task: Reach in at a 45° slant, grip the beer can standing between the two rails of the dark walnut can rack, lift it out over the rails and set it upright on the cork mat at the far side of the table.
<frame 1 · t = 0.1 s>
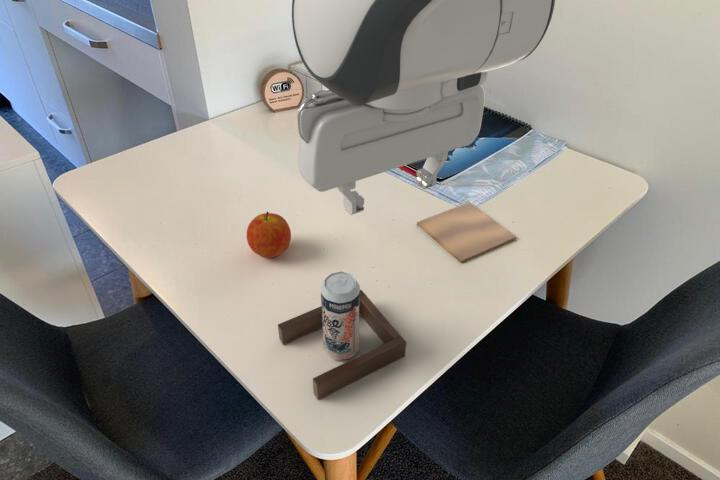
hand: (390, 197, 57), 23 cm above the table, tool pointing down, fingers open, 8 cm apart
fruit: (271, 253, 85), on the table
can rack: (341, 347, 70), on the table
cork mat: (465, 231, 90), on the table
beer can: (341, 348, 70), resting in can rack
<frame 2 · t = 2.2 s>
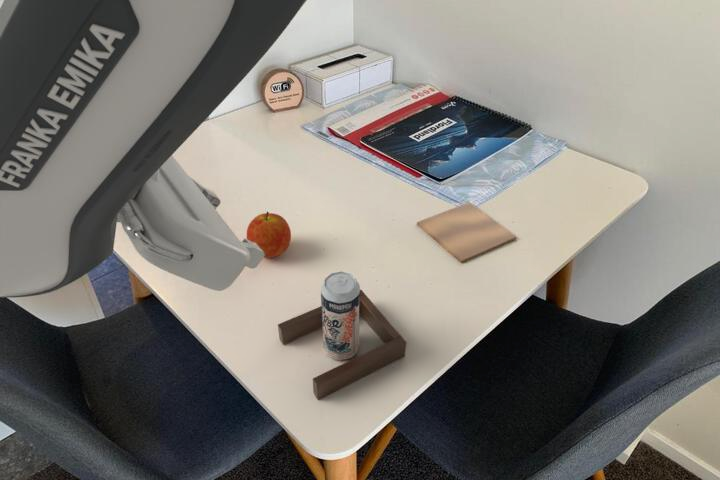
hand: (234, 229, 49), 25 cm above the table, tool tilted 45°, fingers open, 8 cm apart
nothing on the table moved.
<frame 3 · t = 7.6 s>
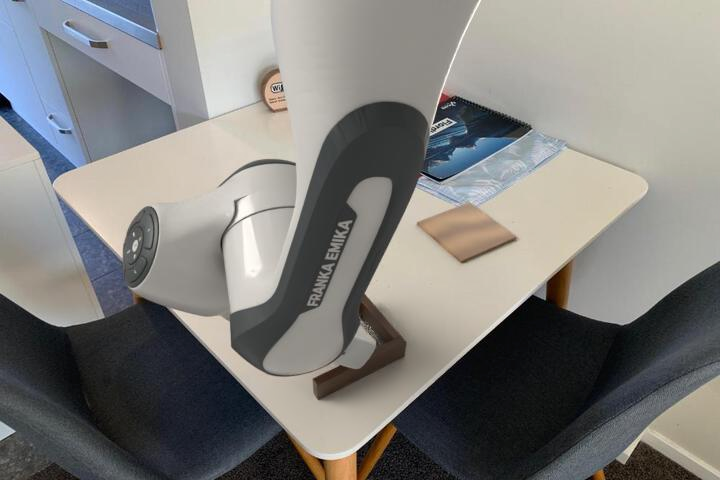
hand: (344, 311, 66), 7 cm above the table, tool tilted 45°, fingers closed on beer can, 5 cm apart
beer can: (341, 348, 70), resting in can rack, touching gripper
everything else where it was.
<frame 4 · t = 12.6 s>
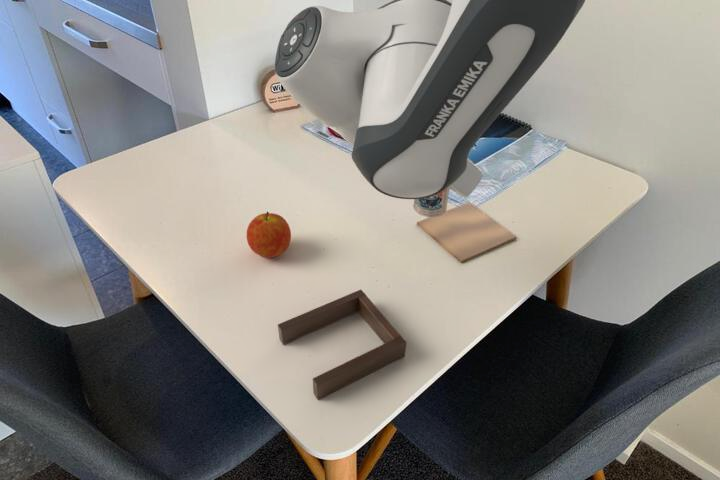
hand: (437, 168, 71), 18 cm above the table, tool tilted 45°, fingers closed on beer can, 5 cm apart
beer can: (429, 211, 75), point 12 cm above the table, touching gripper
everything else where it was.
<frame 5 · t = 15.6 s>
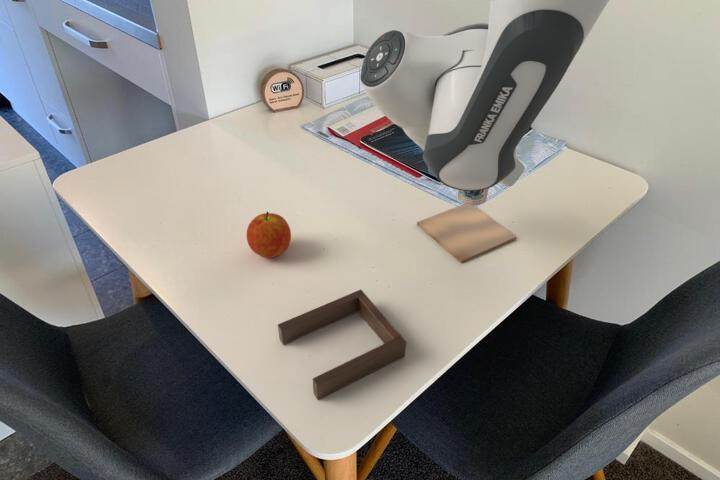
hand: (480, 163, 82), 13 cm above the table, tool tilted 45°, fingers closed on beer can, 5 cm apart
beer can: (471, 200, 86), point 7 cm above the table, touching gripper
everything else where it was.
when the fingers open (7 cm above the table, at t = 17.8 s): beer can stays where it is, resting on cork mat.
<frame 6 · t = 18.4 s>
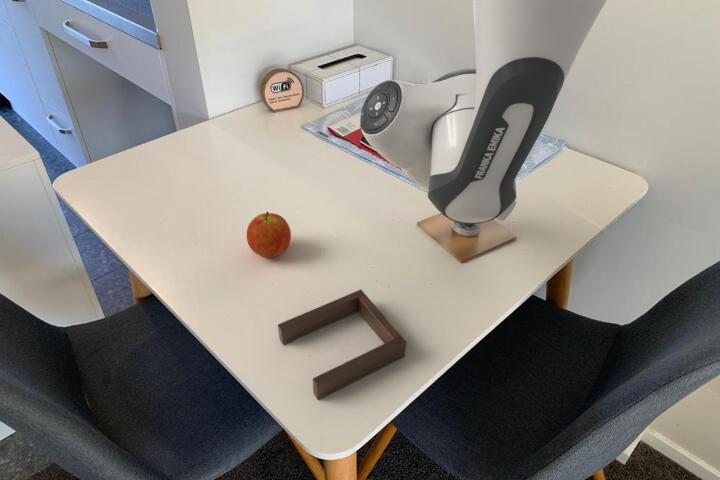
hand: (474, 194, 86), 7 cm above the table, tool tilted 45°, fingers open, 8 cm apart
beer can: (465, 230, 90), resting on cork mat
everything else where it was.
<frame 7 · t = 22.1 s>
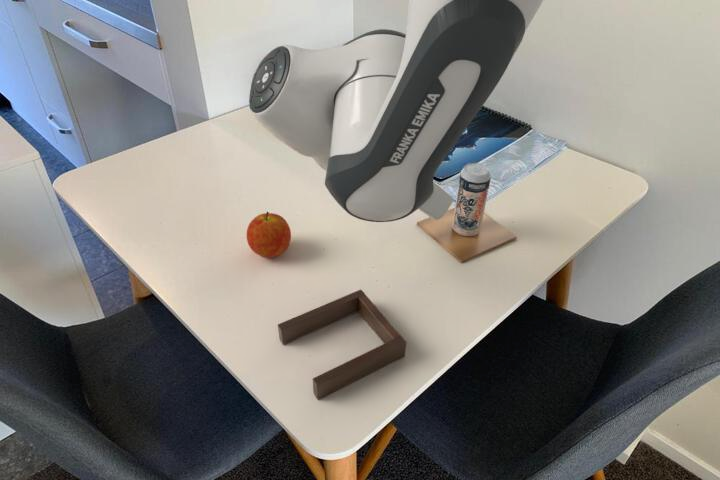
hand: (414, 190, 73), 15 cm above the table, tool tilted 45°, fingers open, 8 cm apart
nothing on the table moved.
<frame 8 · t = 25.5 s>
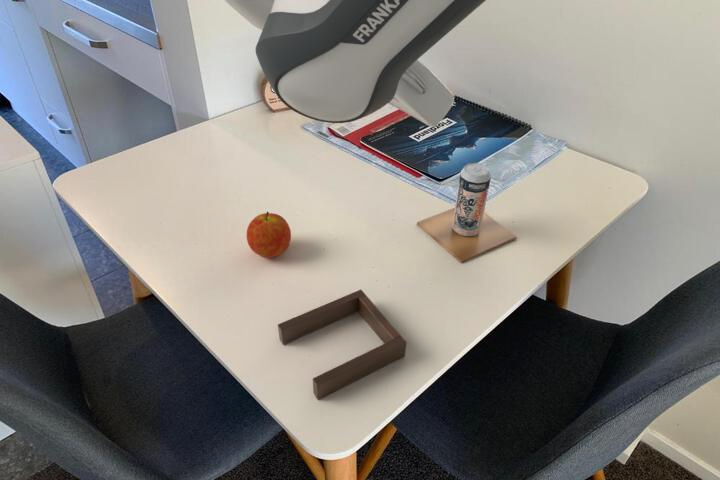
hand: (406, 104, 61), 29 cm above the table, tool tilted 45°, fingers open, 8 cm apart
nothing on the table moved.
at the end: beer can inside the target area on the cork mat (0.1 cm from its centre), point 0.3 cm above the cork mat's base; beer can tilted 0°; beer can touching cork mat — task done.
